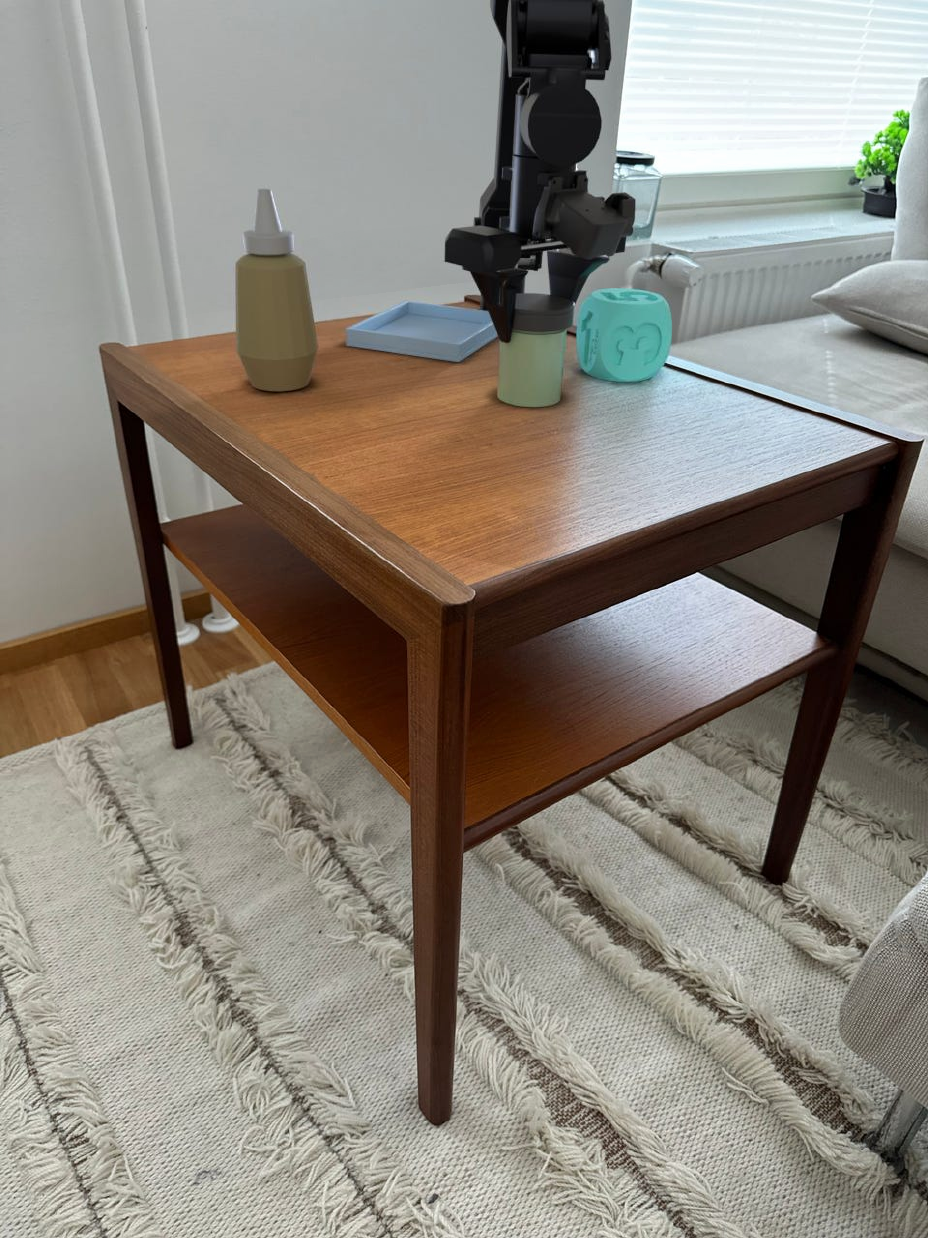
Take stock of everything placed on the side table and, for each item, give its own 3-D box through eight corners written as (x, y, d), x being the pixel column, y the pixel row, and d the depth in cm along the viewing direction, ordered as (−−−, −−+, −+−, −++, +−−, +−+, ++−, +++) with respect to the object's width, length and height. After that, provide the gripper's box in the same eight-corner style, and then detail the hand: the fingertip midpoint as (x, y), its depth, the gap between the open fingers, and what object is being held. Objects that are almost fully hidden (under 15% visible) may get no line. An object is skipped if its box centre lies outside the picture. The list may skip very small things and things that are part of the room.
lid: (478, 319, 86) (479, 298, 85) (532, 309, 90) (534, 289, 89) (534, 336, 81) (536, 314, 80) (588, 324, 86) (590, 303, 85)
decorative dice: (572, 361, 101) (580, 287, 97) (640, 360, 102) (649, 287, 98) (594, 383, 94) (603, 305, 90) (665, 381, 96) (677, 304, 91)
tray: (406, 316, 117) (406, 300, 116) (508, 329, 112) (509, 313, 111) (346, 345, 104) (345, 328, 103) (458, 362, 99) (459, 344, 98)
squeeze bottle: (304, 400, 87) (290, 197, 77) (226, 392, 88) (203, 192, 79) (331, 376, 94) (321, 186, 84) (258, 369, 95) (241, 182, 85)
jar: (509, 383, 93) (514, 298, 89) (568, 392, 91) (576, 305, 87) (487, 401, 88) (491, 311, 84) (549, 411, 86) (557, 320, 82)
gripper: (537, 169, 68) (523, 372, 76) (684, 160, 79) (658, 339, 87) (441, 156, 75) (439, 344, 83) (589, 149, 86) (573, 316, 94)
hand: (532, 336), depth 87 cm, fingers closed on lid, 7 cm apart
